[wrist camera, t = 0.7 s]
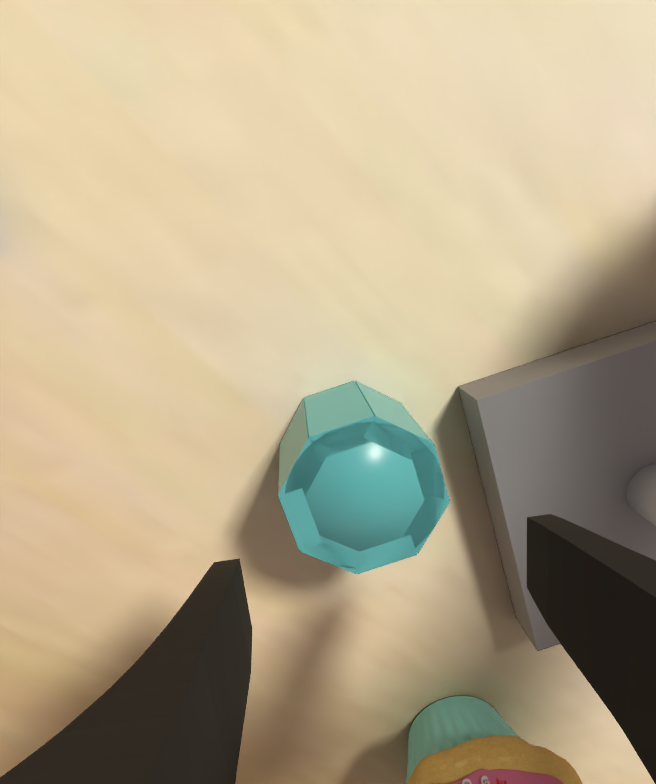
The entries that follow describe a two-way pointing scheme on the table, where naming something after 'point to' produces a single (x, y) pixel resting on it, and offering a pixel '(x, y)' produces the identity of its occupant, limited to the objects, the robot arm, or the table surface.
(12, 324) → the table surface
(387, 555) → the cap
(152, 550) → the table surface
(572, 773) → the cupcake
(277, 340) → the table surface
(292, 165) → the table surface
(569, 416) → the stud stand
